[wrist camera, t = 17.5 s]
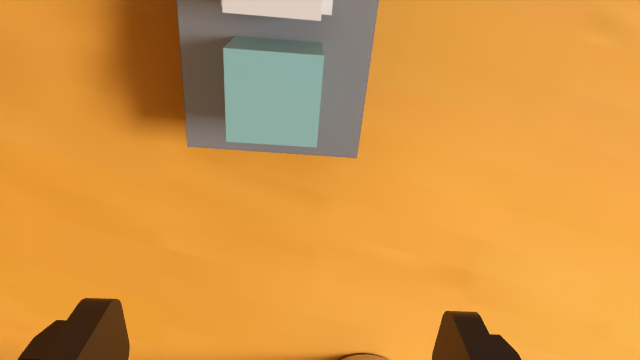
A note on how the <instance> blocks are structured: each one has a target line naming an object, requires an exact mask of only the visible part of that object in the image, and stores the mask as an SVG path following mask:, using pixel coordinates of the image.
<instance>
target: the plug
mask: <svg viewBox="0 0 640 360" xmlns="http://www.w3.org/2000/svg"><path fill="white" fill-rule="evenodd" d="M223 57H224V88H225V120H226V142H238V143H253V144H269V145H285V146H301V147H317V139H318V127H319V114H320V102H321V90H322V77H323V65H324V51H323V44H322V43H317V42H304V41H291V40H278V39H265V38H253V37H240V36H235V37H234V38H233V39H232V40H231V41H230V42H229V43H228V44H227V45H226V46H225V47H224V48H223Z"/></svg>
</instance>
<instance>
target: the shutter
mask: <svg viewBox="0 0 640 360" xmlns="http://www.w3.org/2000/svg"><path fill="white" fill-rule="evenodd" d="M221 6H222V12H223V13H234V14H246V15H257V16H269V17H280V18H292V19H303V20H315V21H321V15H322V14H323V15H332V6H333V0H221Z"/></svg>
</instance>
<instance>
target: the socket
mask: <svg viewBox="0 0 640 360" xmlns="http://www.w3.org/2000/svg"><path fill="white" fill-rule="evenodd" d="M378 2H379V0H333V6H332V15H323V14H322V15H321V21H315V20H303V19H292V18H280V17H269V16H257V15H246V14H234V13H223V12H222V6H221V0H177V11H178V24H179V38H180V51H181V65H182V78H183V92H184V105H185V119H186V133H187V146H188V147H200V148H214V149H229V150H244V151H259V152H273V153H288V154H303V155H318V156H332V157H347V158H357V153H358V146H359V139H360V132H361V125H362V117H363V110H364V103H365V96H366V89H367V81H368V74H369V67H370V60H371V53H372V45H373V38H374V31H375V24H376V17H377V9H378ZM235 36H240V37H253V38H265V39H278V40H291V41H304V42H317V43H322V44H323V51H324V65H323V77H322V90H321V102H320V114H319V127H318V139H317V147H301V146H285V145H269V144H253V143H238V142H226V120H225V88H224V57H223V48H224V47H225V46H226V45H227V44H228V43H229V42H230V41H231V40H232V39H233V38H234V37H235Z"/></svg>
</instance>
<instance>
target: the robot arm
mask: <svg viewBox="0 0 640 360" xmlns="http://www.w3.org/2000/svg"><path fill="white" fill-rule="evenodd" d="M128 357H129V339H128V334H127V329H126V324H125V319H124V315H123V310H122V305H121V302H120V301H119V300H118V299H99V298H85V299H83V300H81V301H80V302H79V304H78V305H77V306H76V308H75V309H74V311H73V312H72V314H71V315H70V316H69V318H68V319H67V321H65V320H56V321H55V322H53V323H52V324H51V325H50V326H48V327H47V328H46V329H44V330H43V331H42V332H41V333H39V334H38V335H37V336H35V337H34V338H33V340H32V341H31V342H30V344H29V345H28V346H27V347H26V349H25V350H24V351H23V353H22V354H21V355H20V357H19V358H18V360H128ZM341 360H387V359H385V358H383V357H380V356H376V355H368V354H362V355H353V356H349V357H346V358H343V359H341ZM432 360H521V358H520V356H519V354H518V353H517V352H516V351H515V350H514V349H513V348H512V347H511V346H510V345H509V344H508V343H507V342H506V341H505V340H504V339H503V338H502V337H501V336H500V335H490V334H489V332H488V330H487V328H486V326H485V324H484V322H483V320H482V318H481V317H480V315H479V314H478V313H477V312H460V311H446V312H445V313H444V314H443V317H442V321H441V324H440V328H439V332H438V335H437V339H436V343H435V346H434V350H433V355H432Z"/></svg>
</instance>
